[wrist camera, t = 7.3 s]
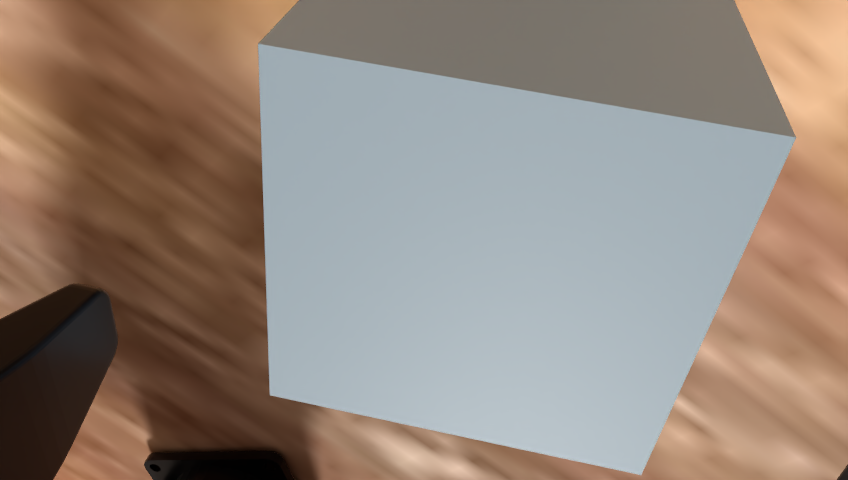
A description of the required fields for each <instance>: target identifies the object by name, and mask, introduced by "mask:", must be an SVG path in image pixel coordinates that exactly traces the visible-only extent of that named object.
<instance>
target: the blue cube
mask: <svg viewBox="0 0 848 480" xmlns="http://www.w3.org/2000/svg"><path fill="white" fill-rule="evenodd" d="M258 55H259V85H260V115H261V146H262V176H263V206H264V236H265V267H266V297H267V327H268V358H269V388H270V395H271V396H275V397H280V398H285V399H289V400H294V401H299V402H303V403H308V404H313V405H317V406H322V407H327V408H331V409H336V410H341V411H345V412H350V413H355V414H359V415H364V416H369V417H373V418H378V419H383V420H387V421H392V422H397V423H401V424H406V425H410V426H415V427H420V428H424V429H429V430H434V431H438V432H443V433H448V434H452V435H457V436H462V437H466V438H471V439H476V440H480V441H485V442H490V443H494V444H499V445H504V446H508V447H513V448H518V449H522V450H527V451H532V452H536V453H541V454H546V455H550V456H555V457H560V458H564V459H569V460H574V461H578V462H583V463H588V464H592V465H597V466H602V467H606V468H611V469H615V470H620V471H625V472H629V473H634V474H639V475H641V474H642V472H643V470H644V468H645V466H646V463H647V461H648V459H649V457H650V455H651V453H652V450H653V448H654V446H655V444H656V442H657V439H658V437H659V435H660V433H661V431H662V429H663V426H664V424H665V422H666V420H667V418H668V415H669V413H670V411H671V409H672V407H673V405H674V402H675V400H676V398H677V396H678V394H679V392H680V389H681V387H682V385H683V383H684V381H685V378H686V376H687V374H688V372H689V370H690V368H691V365H692V363H693V361H694V359H695V357H696V354H697V352H698V350H699V348H700V346H701V344H702V341H703V339H704V337H705V335H706V333H707V331H708V328H709V326H710V324H711V322H712V320H713V317H714V315H715V313H716V311H717V309H718V307H719V304H720V302H721V300H722V298H723V296H724V293H725V291H726V289H727V287H728V285H729V283H730V280H731V278H732V276H733V274H734V272H735V270H736V267H737V265H738V263H739V261H740V259H741V256H742V254H743V252H744V250H745V248H746V246H747V243H748V241H749V239H750V237H751V235H752V232H753V230H754V228H755V226H756V224H757V222H758V219H759V217H760V215H761V213H762V211H763V209H764V206H765V204H766V202H767V200H768V198H769V195H770V193H771V191H772V189H773V187H774V185H775V182H776V180H777V178H778V176H779V174H780V171H781V169H782V167H783V165H784V163H785V161H786V158H787V156H788V154H789V152H790V150H791V148H792V145H793V143H794V141H795V139H796V136H795V134H794V132H793V130H792V128H791V125H790V123H789V121H788V119H787V116H786V114H785V112H784V110H783V108H782V105H781V103H780V101H779V99H778V96H777V94H776V92H775V90H774V88H773V85H772V83H771V81H770V79H769V77H768V74H767V72H766V70H765V68H764V65H763V63H762V61H761V59H760V57H759V54H758V52H757V50H756V48H755V45H754V43H753V41H752V39H751V37H750V34H749V32H748V30H747V28H746V26H745V23H744V21H743V19H742V17H741V14H740V12H739V10H738V8H737V6H736V3H735V1H734V0H299V1H298V2H297V3H296V4H295V5H294V6H293V7H292V9H291V10H290V11H289V12H288V13H287V14H286V15H285V16H284V17H283V18H282V19H281V20H280V21H279V22H278V23H277V24H276V25H275V26H274V28H273V29H272V30H271V31H270V32H269V33H268V34H267V35H266V36H265V37H264V38H263V39H262V40H261V41H260V42H259V43H258Z"/></svg>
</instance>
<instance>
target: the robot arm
mask: <svg viewBox="0 0 848 480" xmlns="http://www.w3.org/2000/svg"><path fill="white" fill-rule="evenodd" d="M117 344H118V334H117V329H116V324H115V319H114V315H113V310H112V305H111V300H110V296H109V294H108V293H107V292H106V291H105V290H104V289H102V288H97V287H92V286H88V285H83V284H70V285H68V286H65V287H63V288H61V289H59V290H57V291H55V292H53V293H51V294H49V295H47V296H45V297H43V298H41V299H39V300H37V301H35V302H33V303H31V304H29V305H27V306H25V307H23V308H21V309H19V310H17V311H15V312H13V313H11V314H9V315H7V316H5V317H3V318H1V319H0V480H53V479H54V477H55V476H56V474H57V472H58V470H59V469H60V467H61V465H62V464H63V462H64V460H65V458H66V456H67V454H68V452H69V450H70V448H71V446H72V444H73V442H74V440H75V438H76V436H77V434H78V431H79V429H80V427H81V425H82V423H83V421H84V419H85V417H86V415H87V412H88V410H89V408H90V406H91V404H92V402H93V400H94V398H95V395H96V393H97V391H98V389H99V387H100V385H101V383H102V381H103V379H104V376H105V374H106V372H107V370H108V368H109V366H110V364H111V362H112V360H113V357H114V355H115V352H116V349H117ZM144 466H145V468H146V470H147V471H148V473H149V474H150V476H151V477H152V479H153V480H294V478H293V476H292V474H291V472H290V470H289V468H288V466H287V464H286V462H285V460H284V459H283V457H282V456H281V455H279V454H278V453H275V452H272V451H241V452H176V453H151V454H150V455H149V456H148V458H147V459H146V461H145V463H144ZM837 480H848V465H847V466H846V468H845V469H844V470H843V472H842V473H841V474H840V476H839V477H838V479H837Z"/></svg>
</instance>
